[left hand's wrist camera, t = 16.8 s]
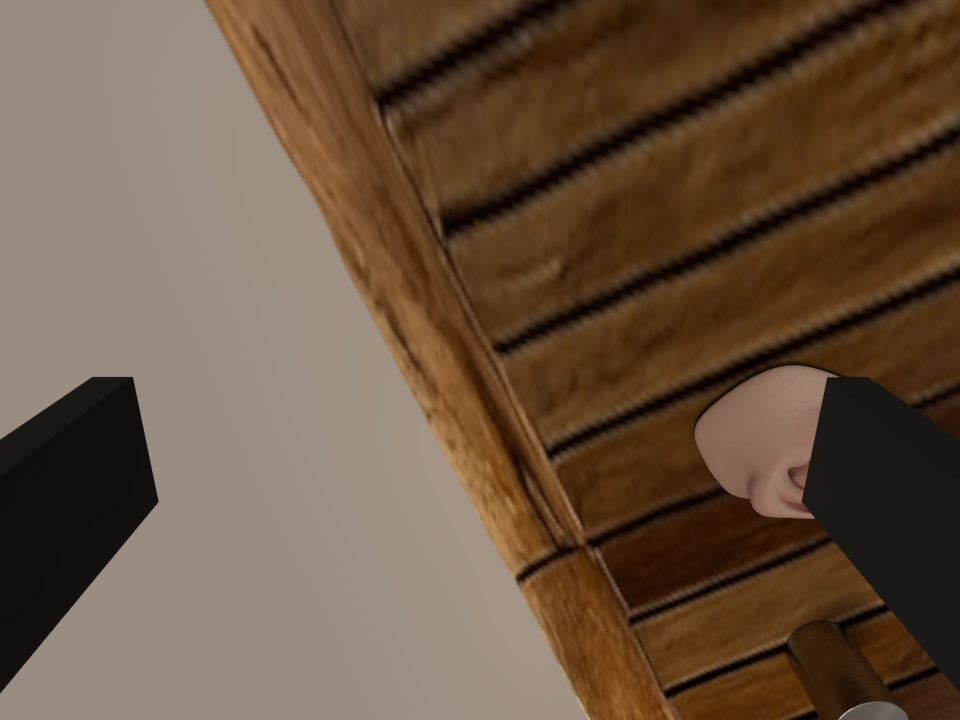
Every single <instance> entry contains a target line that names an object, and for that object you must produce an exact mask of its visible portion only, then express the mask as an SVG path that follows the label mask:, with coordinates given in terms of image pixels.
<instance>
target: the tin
mask: <svg viewBox="0 0 960 720" xmlns="http://www.w3.org/2000/svg"><path fill="white" fill-rule="evenodd" d="M785 654H786V658H787V660H788V662H789V663H790V665H791V667H792V669H793V670H794V672H795V674H796V676H797V678H798V679H799V681H800V683H801V685H802V686H803V688H804V690H805V692H806V693H807V695H808V697H809V699H810V700H811V702H812V704H813V706H814V708H815V709H816V711H817V713H818V715H819V716H820V718H821V720H908V717H907V715H906V713H905V711H904V710H903V709H902V707H901V706H900V704H899V703H898V702H897V700H896V699H895V697H894V696H893V695H892V693H891V692H890V690H889V689H888V688H887V686H886V685H885V683H884V682H883V681H882V679H881V678H880V676H879V675H878V674H877V672H876V671H875V669H874V668H873V667H872V665H871V664H870V662H869V661H868V660H867V658H866V657H865V655H864V654H863V653H862V651H861V650H860V648H859V647H858V646H857V644H856V643H855V641H854V640H853V639H852V637H851V636H850V634H849V633H848V632H847V630H846V629H845V628H843V627H842V626H840V625H839V624H836V623H833V622H828V621H820V622H814V623H810V624H807V625H805V626H803V627H801V628H800V629H798V630H797V631H796V632H794V633H793V634H792V636H791V637H790V638H789V640H788V642H787V644H786V648H785Z"/></svg>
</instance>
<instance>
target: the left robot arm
mask: <svg viewBox="0 0 960 720" xmlns="http://www.w3.org/2000/svg"><path fill="white" fill-rule="evenodd" d="M158 502H159V501H158V497H157V492H156V487H155V482H154V477H153V472H152V467H151V463H150V458H149V453H148V448H147V443H146V438H145V433H144V429H143V424H142V419H141V414H140V409H139V404H138V400H137V395H136V390H135V385H134V380H133V377H92V378H90V379H89V380H87V381H86V382H84V383H83V384H81V385H80V386H78V387H77V388H75V389H74V390H73V391H71V392H70V393H68V394H67V395H65V396H64V397H62V398H61V399H59V400H58V401H56V402H55V403H53V404H52V405H51V406H49V407H48V408H46V409H45V410H43V411H42V412H40V413H39V414H37V415H36V416H34V417H33V418H31V419H30V420H28V421H27V422H26V423H24V424H23V425H21V426H20V427H18V428H17V429H15V430H14V431H12V432H11V433H9V434H8V435H6V436H5V437H3V438H2V439H1V440H0V693H1V692H2V691H3V689H4V688H5V687H6V686H7V685H8V683H9V682H10V681H11V680H12V679H13V677H14V676H15V675H16V674H17V673H18V671H19V670H20V669H21V668H22V666H23V665H24V664H25V663H26V662H27V660H28V659H29V658H30V657H31V656H32V654H33V653H34V652H35V651H36V650H37V648H38V647H39V646H40V645H41V644H42V642H43V641H44V640H45V639H46V637H47V636H48V635H49V634H50V633H51V631H52V630H53V629H54V628H55V627H56V625H57V624H58V623H59V622H60V621H61V619H62V618H63V617H64V616H65V615H66V613H67V612H68V611H69V610H70V608H71V607H72V606H73V605H74V604H75V602H76V601H77V600H78V599H79V598H80V596H81V595H82V594H83V593H84V592H85V590H86V589H87V588H88V587H89V585H90V584H91V583H92V582H93V581H94V579H95V578H96V577H97V576H98V575H99V573H100V572H101V571H102V570H103V569H104V567H105V566H106V565H107V564H108V563H109V561H110V560H111V559H112V558H113V556H114V555H115V554H116V553H117V552H118V550H119V549H120V548H121V547H122V546H123V544H124V543H125V542H126V541H127V539H128V538H129V537H130V536H131V535H132V533H133V532H134V531H135V530H136V529H137V527H138V526H139V525H140V524H141V523H142V521H143V520H144V519H145V518H146V517H147V515H148V514H149V513H150V512H151V510H152V509H153V508H154V507H155V506H156V505H157V503H158ZM801 502H802V503H803V505H804V506H805V507H806V508H807V509H808V511H809V512H810V513H811V514H812V515H813V517H814V518H815V519H816V520H817V521H818V523H819V524H820V525H821V526H822V527H823V529H824V530H825V531H826V532H827V534H828V535H829V536H830V537H831V538H832V540H833V541H834V542H835V543H836V544H837V546H838V547H839V548H840V549H841V550H842V552H843V553H844V554H845V555H846V556H847V558H848V559H849V560H850V561H851V563H852V564H853V565H854V566H855V567H856V569H857V570H858V571H859V572H860V573H861V575H862V576H863V577H864V578H865V579H866V581H867V582H868V583H869V584H870V585H871V587H872V588H873V589H874V590H875V592H876V593H877V594H878V595H879V596H880V598H881V599H882V600H883V601H884V602H885V604H886V605H887V606H888V607H889V608H890V610H891V611H892V612H893V613H894V615H895V616H896V617H897V618H898V619H899V621H900V622H901V623H902V624H903V625H904V627H905V628H906V629H907V630H908V631H909V633H910V634H911V635H912V636H913V637H914V639H915V640H916V641H917V642H918V644H919V645H920V646H921V647H922V648H923V650H924V651H925V652H926V653H927V654H928V656H929V657H930V658H931V659H932V660H933V662H934V663H935V664H936V665H937V666H938V668H939V669H940V670H941V671H942V673H943V674H944V675H945V676H946V677H947V679H948V680H949V681H950V682H951V683H952V685H953V686H954V687H955V688H956V689H957V691H958V692H959V693H960V439H958V438H957V437H955V436H954V435H952V434H951V433H949V432H948V431H946V430H945V429H943V428H942V427H940V426H939V425H937V424H936V423H935V422H933V421H932V420H930V419H929V418H927V417H926V416H924V415H923V414H921V413H920V412H918V411H917V410H915V409H914V408H912V407H911V406H910V405H908V404H907V403H905V402H904V401H902V400H901V399H899V398H898V397H896V396H895V395H893V394H892V393H890V392H889V391H887V390H886V389H885V388H883V387H882V386H880V385H879V384H877V383H876V382H874V381H873V380H871V379H870V378H868V377H827V380H826V385H825V390H824V395H823V399H822V404H821V409H820V414H819V419H818V424H817V429H816V433H815V438H814V443H813V448H812V453H811V458H810V463H809V467H808V472H807V477H806V482H805V487H804V492H803V497H802V501H801Z"/></svg>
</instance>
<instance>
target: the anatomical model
mask: <svg viewBox="0 0 960 720" xmlns="http://www.w3.org/2000/svg"><path fill="white" fill-rule="evenodd" d="M827 377H838V376H836V375H833V374H831V373H828V372H825V371H822V370H818V369H815V368H811V367H806V366H798V365H789V366H782V367H777V368H773V369H771V370H768V371H765V372H763V373H761V374H759V375H756V376H754V377H752V378H751V379H749V380H747V381H745V382H744V383H742V384H740V385H739V386H737V387H736V388H735V389H733V390H732V391H730V392H729V393H727V394H726V395H725V396H723V397H722V398H721V399H720V400H718V401H717V402H716V403H715V404H714V405H712V406H711V407H710V408H709V409H708V410H707V411H706V412H705V413H704V414H703V415H702V416H701V418H700V419H699V421H698V422H697V425H696V427H695V440H696V443H697V446H698V449H699V451H700V453H701V455H702V457H703V459H704V461H705V463H706V464H707V466H708V468H709V470H710V471H711V473H712V474H713V476H714V477H715V478H716V479H717V481H718V482H719V483H720V484H721V486H722V487H723V488H724V489H725V490H726V491H728V492H729V493H731V494H733V495H735V496H738V497H742V498H749V499H750V501H751V504H752V506H753V508H754V509H755V510H756V511H757V512H758V513H759V514H761V515H764V516H768V517H784V518H808V519H815V518H814V517H813V515H812V514H811V513H810V512H809V511H808V509H807V508H806V507H805V506H804V505H803V503H802V502H801V501H802V497H803V492H804V487H805V482H806V477H807V472H808V467H809V463H810V458H811V453H812V448H813V443H814V438H815V433H816V429H817V424H818V419H819V414H820V409H821V404H822V399H823V395H824V390H825V385H826V380H827Z"/></svg>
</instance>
